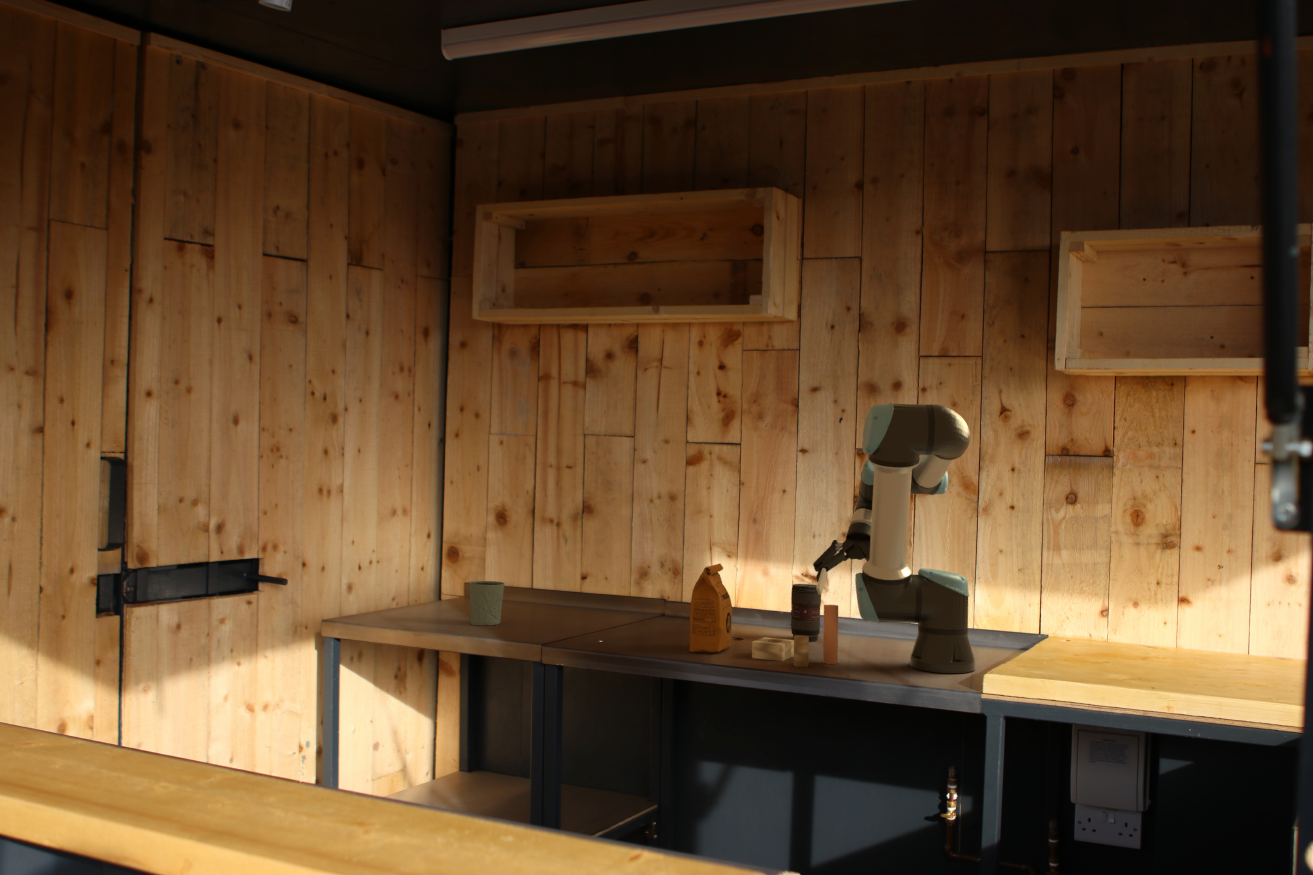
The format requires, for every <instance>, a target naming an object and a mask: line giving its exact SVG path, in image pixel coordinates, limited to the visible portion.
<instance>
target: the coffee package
mask: <svg viewBox="0 0 1313 875" xmlns="http://www.w3.org/2000/svg"><path fill="white" fill-rule="evenodd" d="M723 570H724V567H723V565H722V564H721V563H717V564H712V565H707V566H705V567H704V568H703V571H702V572H701V574H700V575H699V577H698V579H697V581H696V582H695V584H694V586H693V589H692V593H691V599H690V611H689V652H692V653H707V652H708V653H712V654H713V653H719V652H721V651H725V650H727V649H729V648H730V647H731V645H732V643H733V640H732V638H733V637H732V635H733V634H732V632H733V630H732V626H733V625H732V621H733V605H732V604H733V603H732V600H731V596H730V594H729V592H728V590H727V589H726V586H725V585H724V584H723V579H722V577H721V574H720V572H721V571H723ZM708 653H707V654H708Z"/></svg>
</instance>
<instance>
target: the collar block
mask: <svg viewBox="0 0 1313 875" xmlns="http://www.w3.org/2000/svg"><path fill="white" fill-rule="evenodd" d="M751 649H752V650H751V652H752V653H751V658H752V659H760V660H768V661H777V662H784V661H785V660H788V659H790V658H794V640H793V639H786V638H785V639H783V638H773V637H762V638H759V639H756V640H753V641H751Z"/></svg>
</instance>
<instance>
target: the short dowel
mask: <svg viewBox="0 0 1313 875" xmlns="http://www.w3.org/2000/svg"><path fill="white" fill-rule="evenodd" d="M809 643H810V642H809V637H808V636H803V635H797V636H794V656H793V666H794V667H795V668H796V667H797V668H807V667H809V651H810V650H809V648H810V647H809V646H810V644H809Z"/></svg>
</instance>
